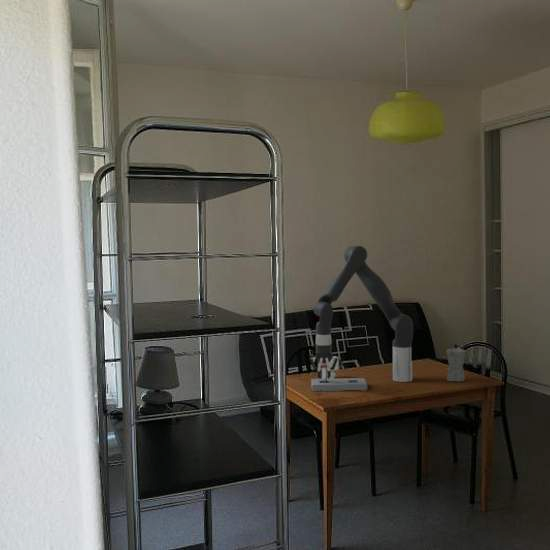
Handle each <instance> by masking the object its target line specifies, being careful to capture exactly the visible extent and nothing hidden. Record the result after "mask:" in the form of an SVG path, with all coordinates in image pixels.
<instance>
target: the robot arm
mask: <svg viewBox="0 0 550 550" xmlns="http://www.w3.org/2000/svg"><path fill="white" fill-rule="evenodd" d="M343 257H344V260H345V262H346V263H345V265H344V266H343V268H342V269H341V270H340V271H339V273H337V274H336V276H335V277H334V278H333V279H332V281H331V282H330V284H328V287H327V288H326V289H325V292H324V293H323V294H322V295H321V296H320V297H319V298H318V299H317V300H316V302H315V303H314V306H313V313H314V314H315V316H318V317H319V321H318V322H316V325H315V355H314V356H313V357H310V358H309V360H310V363H311V365H312V368H313V370H314V371H317V379H321V364H322V363H327V368H328V370H327V372H328V379H329V378H330V377H331V370H334V368H335V366H336V363H337V360H338V359H337V357H338V356H337V357H333V353H332V343H333V341H332V336H331V334H332V331H331V328H332V327H331V324H332V320H333V316H334V310H333V306H332V303H334V302H336V301H338V299H339V298H340V296H341V294H342V293H343V292H344V290H345V288H346V286H347V285H348V283H349V282H350V280H351V279H352V278H353V276H354V275H355V274H356V275H357V276H358V278H359V280H360V281H361V283H362V285H363V286H364V288H365V289H366V290H367V292H368V294H369V295H370V296H371V298H372V299H373V301H374V302H375V304H376V305H377V306H378V307H379V309H380V310H381V311H382V313H383V314H384V316H385V318H386V319H387V321H388V324H389V325H390V327H391V329H392V330H393V331H395V337H394V339H393V340H392V380H393V381H394V382H397V383H398V382H399V383H407V382H408V383H409V382H413V361H412V342H413V341H414V340H413V338H414V323H413V319H412V318H411V317H410V316H409V315H406V314H403V312H402V311H401V310H400V309H399V308H398V307H397V305H396V304H395V301H394V299H393V296H392V292H391V291H390V289H389V287H388V286H387V283H385V281H384V280H383V279H382V278H381V276H379V275H378V274H377V273H376V272H375V271H374V270H372V269H371V268H370V267H369V266H368V264H367V263H366V260H367V258H368V251H367V249H366V248H365V247H364V246H361V245H354V246H353V245H352V246H349V247H347V248H346V249H345V250H344V253H343ZM331 359H333V365H332V367H330V365H329V362H330V361H331ZM316 361H317V366H316V364H315V362H316ZM334 371H335V370H334Z"/></svg>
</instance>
